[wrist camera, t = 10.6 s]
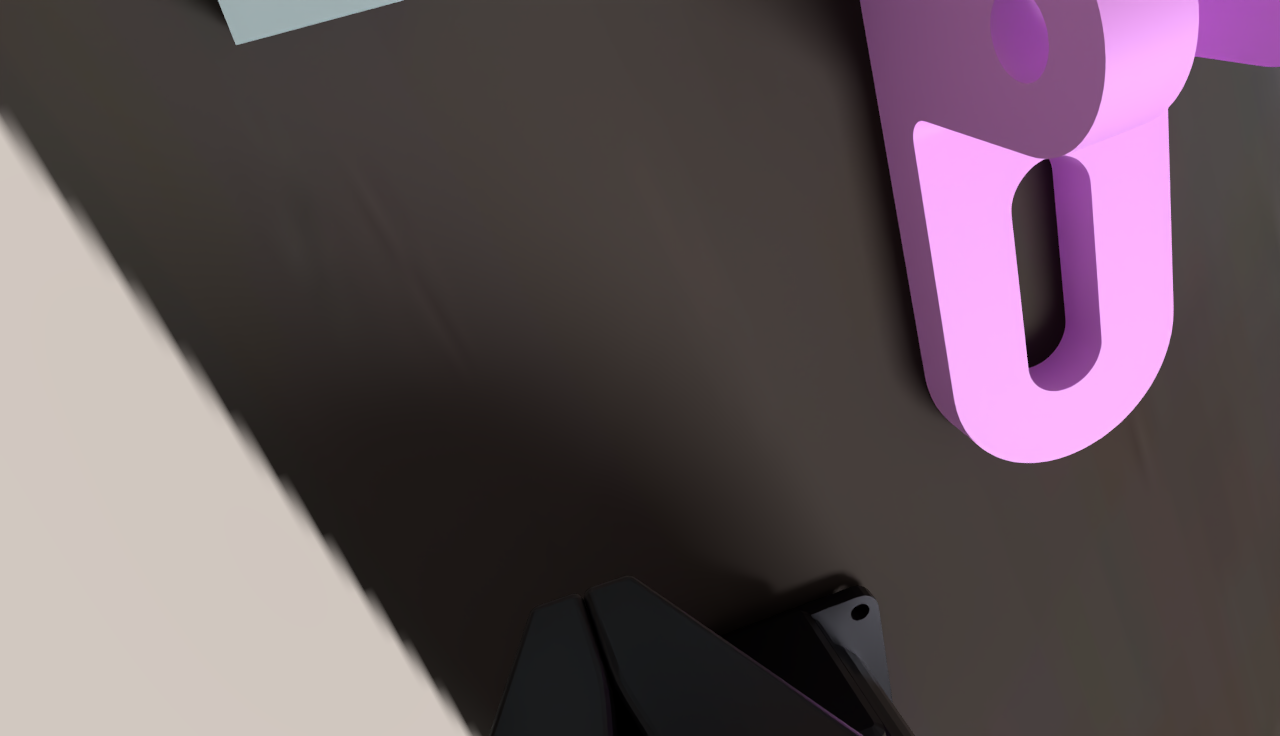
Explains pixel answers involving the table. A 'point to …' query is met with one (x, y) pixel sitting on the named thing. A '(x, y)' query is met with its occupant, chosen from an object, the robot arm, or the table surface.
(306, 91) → the table surface
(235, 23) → the switch plate
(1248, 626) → the table surface
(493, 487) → the table surface
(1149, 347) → the bracket
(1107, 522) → the table surface
